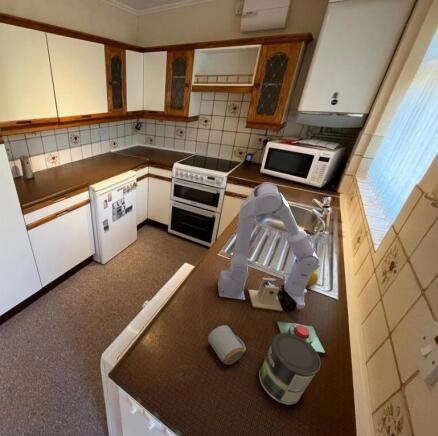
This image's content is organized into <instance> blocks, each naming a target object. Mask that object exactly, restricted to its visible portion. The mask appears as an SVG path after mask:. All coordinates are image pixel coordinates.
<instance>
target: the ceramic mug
mask: <svg viewBox="0 0 438 436" xmlns="http://www.w3.org/2000/svg"><path fill="white" fill-rule="evenodd" d="M207 342H208V343H209V345H210V346H211V348H213V351H214V352H215V353H216V355H217V357H218V359H219V360H220V361H221V362H222V363H223V364H224V365H227V366H229V365H230V366H231V365H232V364H234V363H236V362H238V361H239V360H240V359H241V358H242V357H243V356H244V354H245V352H246V350H247V347H246V345H245V343H244V341H243V340H242V339H241V338H240V337H238V336H237V335H235V334H234V332H233V331H232V329H231V327H230V326H228V325H226V324H224V325H219V326H218V327H216V328H214V329H213V330H212V331H211V332H210V333H209V335H208V336H207Z"/></svg>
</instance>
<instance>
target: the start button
mask: <svg viewBox="0 0 438 436" xmlns="http://www.w3.org/2000/svg"><path fill="white" fill-rule="evenodd" d="M303 325H304V324H301V325H297V326H296V328H295V334H296V335H297V336H299V337H301V338H303V339H305V338H307V337H308V335H309V330H308V329H307V328H306V327H305V326H306V325H305V326H303Z"/></svg>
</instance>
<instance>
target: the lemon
mask: <svg viewBox="0 0 438 436" xmlns="http://www.w3.org/2000/svg"><path fill="white" fill-rule="evenodd" d="M318 281H319V274H318V272H317V271H316V270H314V271H313V272H312V274H311V277H310V279H309V281H308V283H307V286H306V287H312V286H315V285H316V284H317V283H318Z"/></svg>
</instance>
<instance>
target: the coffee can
mask: <svg viewBox="0 0 438 436" xmlns="http://www.w3.org/2000/svg"><path fill="white" fill-rule="evenodd" d="M321 365H322V363H321V358H320V355H319V353H317V352H316V350H315V349H314V348H313V347H312V346H311V345H310V344H309V343H308V342H307V341H305V340H304V339H303V338H301V337H299V336H297V335H294V334H290V333H280V332H279V333H278V334H275V336H274V337H273V339H272V340H271V345H270V347H269V349H268V351H267V354H266V356H265V359H264V361H263V363H262V366H261V367H260V369H259V371H258V372H259V373H258V376H259V381H260V384H261V386H262V388H263V390H264V391H265V392H266V394H268V396H269V397H271V398H272V399H273V400H275V401H276V402H278V403H280V404H284V405H295V404H296V403H298V402H299V401H300V399H301V397H302V395H303V394H304V392H305V391H306V389H307V388H308V386H309V384H310V383H311V381H312V380H313V379H314V378H315V375H316V374H317V373H318V372H319V371H320V368H321Z"/></svg>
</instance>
